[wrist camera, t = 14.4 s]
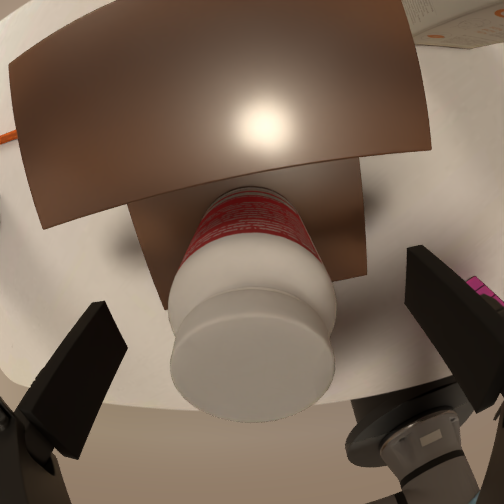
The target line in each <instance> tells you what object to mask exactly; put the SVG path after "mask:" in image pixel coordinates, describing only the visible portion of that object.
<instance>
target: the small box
mask: <svg viewBox="0 0 504 504" xmlns="http://www.w3.org/2000/svg"><path fill="white" fill-rule="evenodd" d="M401 1H402V4H403V7H404V10H405V13H406V16H407V19H408V22H409V26H410V29H411V33H412V37H413V40H414V44H421V45H436V46H448V47H457V48H467V49H472V48H477V47H481V46H487V45H491V44H496V43H502V42H504V0H401Z"/></svg>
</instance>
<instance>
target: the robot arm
mask: <svg viewBox="0 0 504 504" xmlns="http://www.w3.org/2000/svg"><path fill="white" fill-rule="evenodd" d="M404 304H405V305H406V307H407V308H408V310H409V311H410V312H411V314H412V315H413V316H414V318H415V319H416V321H417V322H418V323H419V325H420V326H421V328H422V329H423V330H424V332H425V333H426V335H427V336H428V338H429V339H430V341H431V342H432V344H433V345H434V346H435V348H436V349H437V351H438V352H439V354H440V355H441V357H442V358H443V360H444V362H445V363H446V365H447V366H448V368H449V369H450V371H451V372H452V374H453V376H454V377H455V379H456V380H457V382H458V384H459V385H460V387H461V388H462V390H463V392H464V393H465V395H466V397H467V398H468V400H469V402H470V404H471V405H472V407H473V409H474V410H475V412H476V414H477V413H479V412H481V411H483V410H485V409H487V408H488V407H490V406H492V405H494V403H495V401H496V400H497V398H498V396H499V394H500V393H501V394H502V396H503V397H504V307H503V306H502V305H501V304H500V303H499V302H498V301H497V300H496V299H494V298H492V297H490V296H488V295H486V294H481V295H479V294H478V293H477V292H476V291H475V290H474V289H473V288H472V287H471V286H469V285H468V284H467V283H466V282H465V281H464V280H463V279H462V278H461V277H460V276H458V275H457V274H456V273H455V272H454V271H453V270H452V269H450V268H449V267H448V266H447V265H446V264H445V263H443V262H442V261H441V260H440V259H439V258H438V257H436V256H435V255H434V254H433V253H432V252H430V251H429V250H428V249H427V248H426V247H424V246H423V245H418V246H414V247H409V248H407V265H406V286H405V300H404ZM127 349H128V347H127V345H126V343H125V341H124V339H123V337H122V335H121V333H120V331H119V329H118V327H117V325H116V323H115V321H114V319H113V317H112V315H111V313H110V311H109V309H108V307H107V304H106V302H105V301H100V302H92V303H91V305H90V306H89V307H88V308H87V310H86V311H85V312H84V314H83V315H82V316H81V317H80V319H79V320H78V321H77V323H76V324H75V325H74V327H73V328H72V329H71V331H70V332H69V333H68V335H67V336H66V337H65V339H64V340H63V341H62V343H61V344H60V346H59V347H58V348H57V350H56V351H55V353H54V354H53V355H52V357H51V358H50V360H49V361H48V363H47V364H46V365H45V367H44V368H43V369H42V370H41V371H40V372H39V374H38V375H37V377H36V378H35V381H33V383H32V384H31V388H29V389H28V391H27V392H26V394H25V395H24V397H23V399H22V400H21V402H20V403H19V405H18V406H17V408H16V410H15V412H13V411H12V410H11V409H10V408H9V407H8V405H7V404H6V403H5V402H4V400H3V399H2V398H1V397H0V504H71V501H70V498H69V495H68V493H67V490H66V487H65V484H64V481H63V478H62V474H61V471H60V467H59V464H58V461H57V458H56V456H55V455H54V454H53V453H52V451H53V449H54V447H55V448H56V449H57V450H58V451H59V452H60V453H61V454H62V455H63V456H65V457H69V458H73V459H76V460H78V459H79V457H80V454H81V452H82V449H83V447H84V444H85V442H86V440H87V437H88V435H89V432H90V430H91V428H92V425H93V423H94V421H95V418H96V416H97V414H98V411H99V409H100V407H101V405H102V402H103V400H104V398H105V396H106V393H107V391H108V389H109V387H110V385H111V383H112V380H113V378H114V376H115V374H116V372H117V370H118V368H119V366H120V364H121V361H122V359H123V357H124V355H125V353H126V351H127ZM499 415H500V418H499V423H498V428H497V433H496V438H495V442H494V446H493V451H492V454H491V458H490V462H489V465H488V468H487V472H486V475H485V478H484V481H483V484H482V487H481V490H479V487H478V485H477V482H476V480H475V478H474V475H473V473H472V470H471V468H470V466H469V464H468V461H467V459H466V457H465V455H464V452H463V450H462V447H461V439H460V427H459V417H458V415H457V413H456V411H455V409H454V408H453V407H452V406H448V405H444V406H438V407H434V408H431V409H428V410H425V411H423V412H421V413H419V414H416V415H414V416H413V417H411V418H409V419H407V420H405V421H404V422H402V423H401V424H399V425H398V426H396V427H395V428H394V429H392V430H391V431H390V432H389V433H388V434H387V435H386V436H385V437H384V438H383V439H382V440H381V442H380V443H379V446H378V449H379V452H380V456H381V458H382V459H383V461H384V462H385V463H386V464H387V466H388V467H389V468H390V469H391V471H392V472H393V473H394V474H395V476H396V477H397V478H398V480H399V482H400V485H401V489H402V491H401V492H399V493H396V494H393V495H391V496H388V497H385V498H382V499H379V500H376V501H373V502H370V503H366V504H504V401H503V403H502V404H501V406H500V408H499V410H498V411H497V413H496V415H495V417H494V419H493V420H496V419H497V418H498V416H499Z"/></svg>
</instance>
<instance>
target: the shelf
mask: <svg viewBox="0 0 504 504" xmlns="http://www.w3.org/2000/svg"><path fill="white" fill-rule="evenodd" d="M9 79H10V90H11V99H12V106H13V113H14V120H15V126H16V131H17V137H18V142H19V147H20V151H21V156H22V160H23V164H24V168H25V172H26V176H27V180H28V184H29V187H30V191H31V194H32V197H33V201H34V204H35V207H36V210H37V213H38V216H39V219H40V222H41V225H42V228H43V230H45V229H48V228H51V227H54V226H57V225H60V224H63V223H66V222H69V221H72V220H75V219H78V218H81V217H85V216H88V215H91V214H94V213H97V212H101V211H104V210H108V209H111V208H114V207H118V206H121V205H125V204H127V205H128V208H129V212H130V215H131V218H132V221H133V224H134V227H135V231H136V234H137V237H138V240H139V243H140V245H141V248H142V251H143V254H144V257H145V260H146V263H147V265H148V268H149V271H150V274H151V276H152V279H153V282H154V284H155V287H156V289H157V292H158V294H159V297H160V300H161V302H162V305H163V307H164V309H165V310H168V301H169V294H170V290H171V287H172V284H173V281H174V278H175V276H176V273H177V271H178V269H179V267H180V264H181V262H182V260H183V258H184V256H185V253H186V251H187V249H188V247H189V245H190V243H191V241H192V238H193V236H194V234H195V232H196V230H197V228H198V226H199V224H200V222H201V220H202V218H203V216H204V214H205V213H206V211H207V210H208V208H209V207H210V206H211V205H212V204H213V203H214V202H215V201H216V200H217V199H218V198H220V197H221V196H223V195H224V194H226V193H228V192H230V191H233V190H236V189H240V188H247V187H256V188H263V189H267V190H270V191H273V192H275V193H277V194H279V195H281V196H282V197H284V198H285V199H286V200H287V201H289V202H290V203H291V205H292V206H293V207H294V208H295V209H296V211H297V212H298V214H299V216H300V217H301V219H302V221H303V223H304V225H305V227H306V229H307V232H308V234H309V235H310V237H311V239H312V242H313V244H314V246H315V248H316V250H317V252H318V254H319V256H320V258H321V260H322V262H323V265H324V267H325V268H326V270H327V272H328V274H329V276H330V278H331V281H332V282H334V281H339V280H344V279H349V278H354V277H359V276H364V275H367V254H366V232H365V216H364V203H363V192H362V181H361V172H360V163H359V157H367V156H375V155H384V154H394V153H405V152H417V151H430V150H431V149H432V147H431V136H430V127H429V118H428V111H427V104H426V98H425V92H424V86H423V80H422V75H421V70H420V66H419V61H418V57H417V52H416V48H415V44H414V40H413V37H412V33H411V29H410V26H409V22H408V19H407V16H406V13H405V10H404V7H403V4H402V1H401V0H116V1H114V2H111V3H109V4H107V5H105V6H103V7H100V8H98V9H96V10H94V11H92V12H90V13H88V14H86V15H84V16H82V17H81V18H79V19H77V20H75V21H73V22H71V23H70V24H68V25H66V26H64V27H63V28H61V29H59V30H58V31H56V32H54V33H53V34H51V35H49V36H48V37H46V38H45V39H43V40H42V41H40V42H39V43H37V44H36V45H34V46H33V47H31V48H30V49H28V50H27V51H26V52H24V53H23V54H21V55H20V56H19V57H17V58H16V59H15V60H13V61H12V62H11V63H9Z"/></svg>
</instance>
